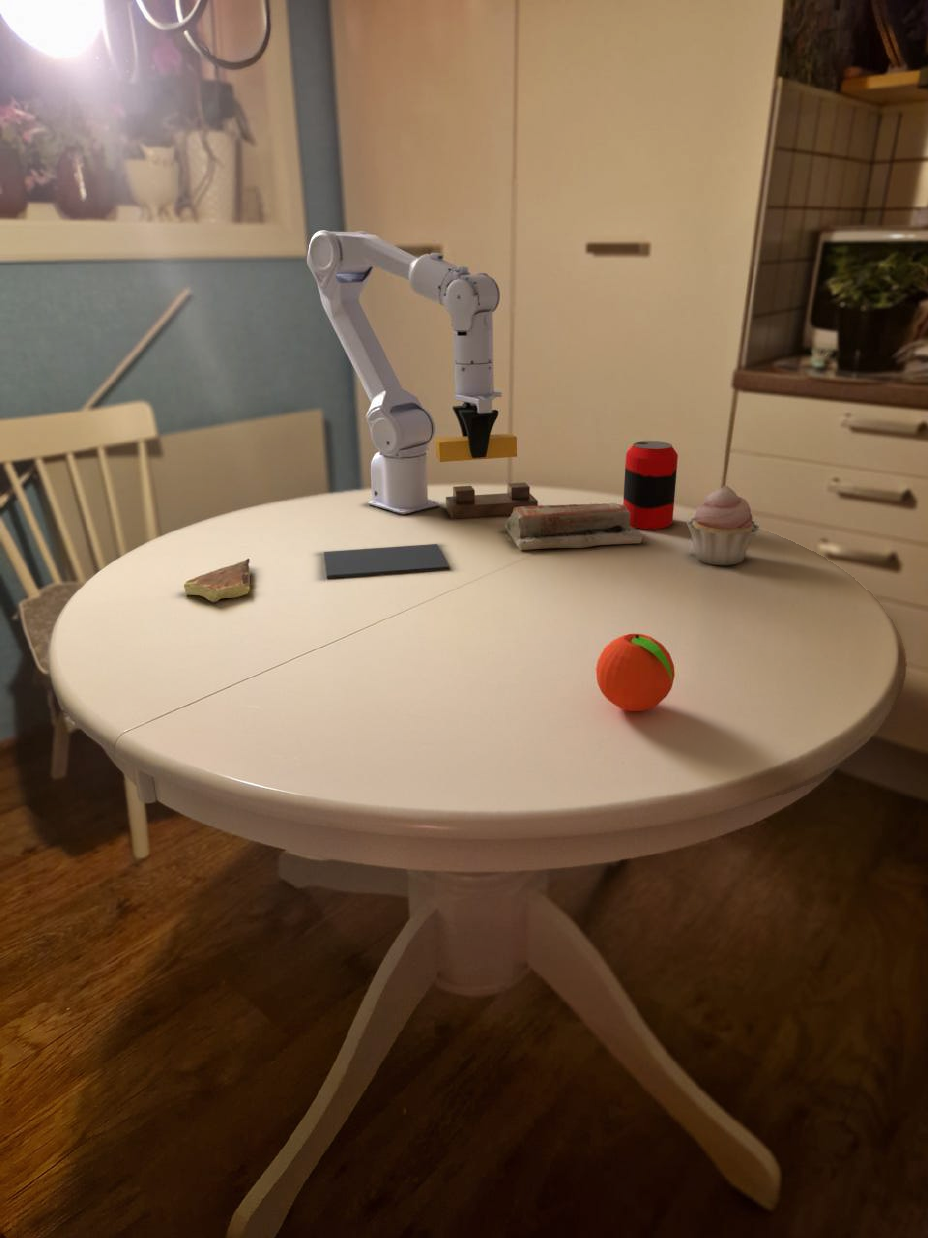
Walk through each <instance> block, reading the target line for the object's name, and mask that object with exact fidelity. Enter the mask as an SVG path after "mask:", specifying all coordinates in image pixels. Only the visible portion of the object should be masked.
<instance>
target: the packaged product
mask: <svg viewBox="0 0 928 1238" xmlns="http://www.w3.org/2000/svg"><path fill="white" fill-rule="evenodd" d="M629 523H630V512H629V511H628V510H627V508H626V506H625V505H623V504H620V503H615V502H609V503H605V502H602V503H580V504H578V503H573V504H571V503H570V504H546V505H545V504H544V505H538V506H519V507H515V508H514V509H513V513H512V514H511V515H510V516H509V518H508V523H506V524H505V529H506V531H507V533H508V534H509V536H510V537H511V539H512V540H513V542H514V544H515V545H516V546H517V548H518V549H519V551H527V550H528V551H529V550H541V549H542V550H543V549H582V548H583V549H584V548H589V547H594V546H605V545H607V546H608V545H628V544H641V542H642V538H643V533H642V532H641V531H640V530H639V529H638V528H633V527H632V526H630V525H629Z"/></svg>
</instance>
